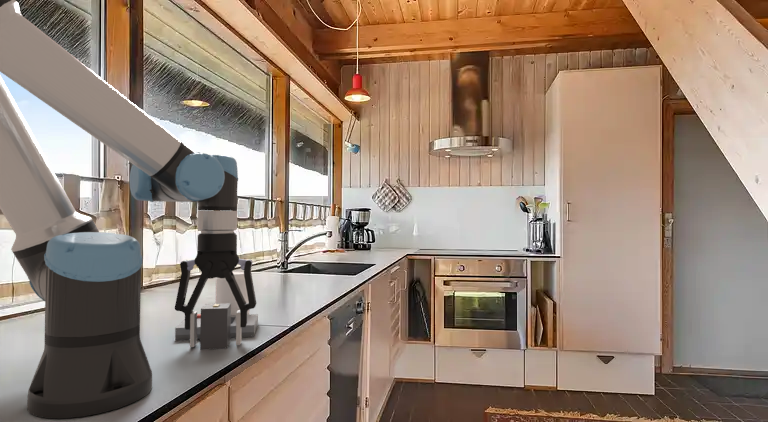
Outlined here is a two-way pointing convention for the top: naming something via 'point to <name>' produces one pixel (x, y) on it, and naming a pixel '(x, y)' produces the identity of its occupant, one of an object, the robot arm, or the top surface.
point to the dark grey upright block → (215, 326)
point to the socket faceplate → (246, 331)
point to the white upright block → (226, 294)
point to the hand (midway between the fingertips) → (216, 344)
